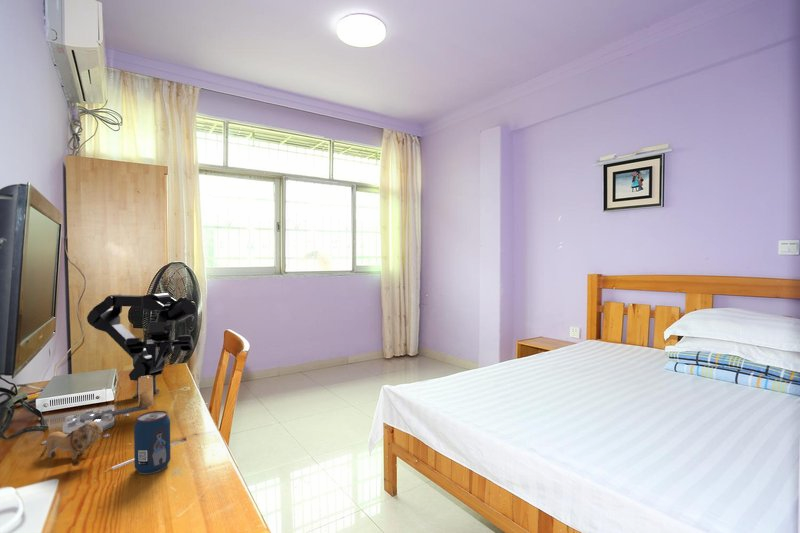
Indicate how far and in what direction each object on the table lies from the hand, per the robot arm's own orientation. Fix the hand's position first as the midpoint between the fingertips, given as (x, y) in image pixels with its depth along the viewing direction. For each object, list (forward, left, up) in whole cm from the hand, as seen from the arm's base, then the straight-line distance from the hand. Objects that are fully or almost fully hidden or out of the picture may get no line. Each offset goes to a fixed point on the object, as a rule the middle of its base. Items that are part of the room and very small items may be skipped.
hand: (155, 367), depth 122 cm
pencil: (+31, +7, -14) cm, 34 cm away
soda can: (+38, +10, -14) cm, 41 cm away
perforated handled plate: (+11, -8, -12) cm, 18 cm away
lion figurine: (+28, -10, -14) cm, 33 cm away
